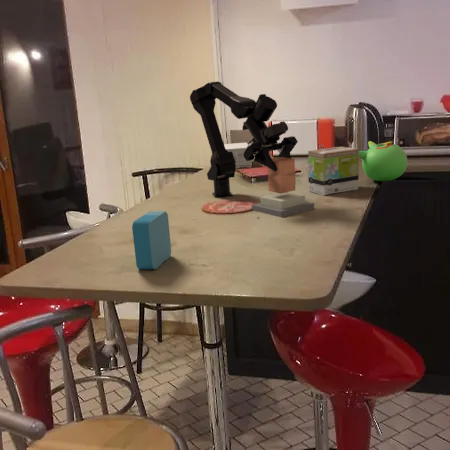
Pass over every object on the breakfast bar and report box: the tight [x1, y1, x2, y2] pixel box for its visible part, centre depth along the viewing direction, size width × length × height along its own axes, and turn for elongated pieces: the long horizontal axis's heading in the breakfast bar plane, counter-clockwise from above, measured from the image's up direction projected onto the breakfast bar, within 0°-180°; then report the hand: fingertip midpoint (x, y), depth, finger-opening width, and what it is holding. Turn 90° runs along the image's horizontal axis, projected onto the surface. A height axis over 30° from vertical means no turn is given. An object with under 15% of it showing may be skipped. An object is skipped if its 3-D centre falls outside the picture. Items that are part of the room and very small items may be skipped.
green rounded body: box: [359, 140, 408, 183], centre depth 220 cm, size 18×17×15 cm
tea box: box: [307, 146, 360, 196], centre depth 210 cm, size 15×10×15 cm
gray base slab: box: [251, 200, 315, 218], centre depth 191 cm, size 14×14×2 cm
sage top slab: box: [259, 192, 306, 209], centre depth 190 cm, size 10×10×2 cm
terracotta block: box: [267, 157, 296, 194], centre depth 188 cm, size 6×6×10 cm
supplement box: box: [224, 142, 253, 169], centre depth 277 cm, size 17×13×9 cm
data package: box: [131, 210, 172, 270], centre depth 146 cm, size 12×4×12 cm, turn 164°
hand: (283, 168), depth 186 cm, fingers closed on terracotta block, 6 cm apart
